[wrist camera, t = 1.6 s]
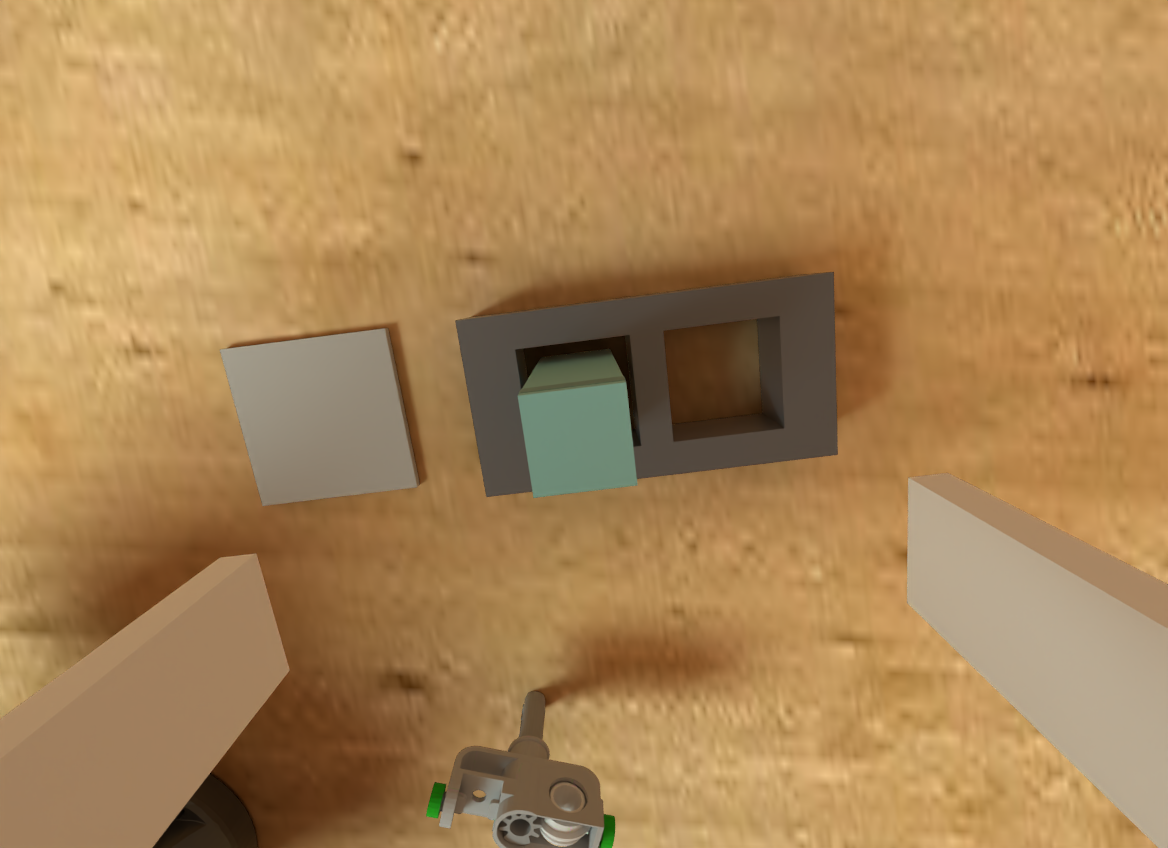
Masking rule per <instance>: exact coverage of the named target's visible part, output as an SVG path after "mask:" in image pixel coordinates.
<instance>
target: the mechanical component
mask: <svg viewBox="0 0 1168 848" xmlns="http://www.w3.org/2000/svg"><path fill="white" fill-rule="evenodd" d="M544 716H545V697H544V695H543V694H542V693H540V692H537V691H532V692H529V693H528V694H527V696H526V698H525V704H523V709H522V716H521V727H520V734H519V738H517V739H516V740H514V741H513V742H512V743H511V745H510V747H509V749H508V752H507V751H501V750H496V749H491V748H486V747H481V746H471V747H467V748H465V749H463V750H461V751H460V752H459V754H458V755H457V757H456V759H455V763H454V767H453V770H452V774H451V778H450V782H449V785H448V789H447V792H445V788H446V784H442V783H436V782H435V783H434V786H433V790H432V793H431V797H430V801H429V805H428V809H427V814H426V816H427V817H433V818H438V816H439V813H440V811H442V814H441V819H440V824H439V826H440V827H445V828H450V827H451V824H452V820H453V815H454V813H457V814H461V813H467V814H472V815H477V816H483V817H487V818H488V819H490V820H494V824H493V830H492V831H493V839H494V841H495V843H496V844H497V845H498V846H499V847H500V848H612V846H613V842H614V836H615V817H614V816H611V815H606V814H604V812H603V800H602V799H601V797H600V783H599V780H598V778H597V777H596V775H595V774H594V773H593V772H592V771H591V770H589V769H588V768H585V767H583V766H579V765H574V764H569V763H564V762H558V761H553V760H549V755H550V754H549V748H548V746H547V745H546V743H545V742H544V741H543V725H544ZM476 790H481V791H483V792H485V793H486V796H485V797H482V798H478V797H476V796H474V795H473V792H474V791H476ZM545 838H546V839H547V840H548V841H549V842H551V843H552V844H555V845H558V846H566V847H558V846H554V845H552V844H550V843H549V842H548V841H547V840H546V839H545Z"/></svg>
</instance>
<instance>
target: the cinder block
mask: <svg viewBox="0 0 1168 848" xmlns="http://www.w3.org/2000/svg"><path fill="white" fill-rule="evenodd" d="M751 319H757V328H758V347H759V365H760V384H761V403H762V413H760V414H752V415H744V416H735V417H727V418H719V419H711V420H703V421H695V422H687V423H678V424H672V420H671V409H670V398H669V387H668V377H667V366H666V355H665V344H664V333H663V331H664V330H672V329H680V328H688V327H696V326H704V325H712V324H719V323H727V322H735V321H743V320H751ZM456 327H457V333H458V338H459V344H460V350H461V356H462V361H463V367H464V373H465V378H466V384H467V390H468V395H469V401H470V407H471V412H472V418H473V424H474V429H475V435H476V441H477V446H478V452H479V458H480V464H481V469H482V475H483V481H484V486H485V492H486V497H491V496H499V495H508V494H516V493H524V492H532V485H531V478H530V472H529V466H528V459H527V453H526V446H525V440H524V433H523V427H522V421H521V414H520V408H519V401H518V394H519V391H520V390H521V389H522V388H523V386H524V385H525V383H526V381H527V380H528V376H527V369H526V362H525V356H524V349H523V348H530V347H538V346H546V345H554V344H562V343H570V342H578V341H586V340H593V339H601V338H609V337H617V336H625V342H626V351H627V361H628V370H629V379H630V388H631V398H632V407H633V416H634V425H635V429H631V431H632V440H633V449H634V458H635V467H636V477H637V479H640V478H649V477H657V476H665V475H673V474H682V473H690V472H698V471H707V470H715V469H723V468H732V467H740V466H748V465H756V464H765V463H773V462H781V461H790V460H798V459H806V458H814V457H823V456H831V455H838V447H837V402H836V357H835V312H834V272H827V273H814V274H803V275H795V276H787V277H779V278H771V279H764V280H756V281H748V282H740V283H733V284H725V285H717V286H709V287H702V288H694V289H686V290H678V291H670V292H663V293H655V294H647V295H639V296H632V297H624V298H616V299H608V300H600V301H593V302H585V303H577V304H569V305H562V306H554V307H546V308H538V309H531V310H523V311H515V312H507V313H499V314H492V315H484V316H476V317H469V318H465V319H460V320H456Z"/></svg>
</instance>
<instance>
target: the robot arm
mask: <svg viewBox="0 0 1168 848" xmlns="http://www.w3.org/2000/svg"><path fill="white" fill-rule="evenodd" d="M907 603H908V604H909V605H910V606H911V607H912V608H913V609H914V610H915V611H916V612H917V613H918V614H919V615H920V616H921V617H922V618H923V619H924V620H925V621H926V622H927V623H928V624H929V625H930V626H931V627H932V628H933V629H934V630H935V631H937V632H938V633H939V634H940V635H941V636H942V637H943V638H944V639H945V640H946V641H947V642H948V643H949V644H950V645H951V646H952V647H953V648H954V649H955V650H956V651H957V652H958V653H959V654H960V655H961V656H962V657H963V658H964V659H965V660H966V661H967V662H968V663H969V664H970V665H971V666H972V667H973V668H974V669H976V670H977V671H978V672H979V673H980V674H981V675H982V676H983V677H984V678H985V679H986V680H987V681H988V682H989V683H990V684H991V685H992V686H993V687H994V688H995V689H996V690H997V691H998V692H999V693H1000V694H1001V695H1002V696H1003V697H1004V698H1005V699H1006V700H1007V701H1008V702H1009V703H1010V704H1011V705H1012V706H1013V707H1015V708H1016V709H1017V710H1018V711H1019V712H1020V713H1021V714H1022V715H1023V716H1024V717H1025V718H1026V719H1027V720H1028V721H1029V722H1030V723H1031V724H1032V725H1033V726H1034V727H1035V728H1036V729H1037V730H1038V731H1039V732H1040V733H1041V734H1042V735H1043V736H1044V737H1045V738H1046V739H1047V740H1048V741H1049V742H1050V743H1051V744H1052V745H1053V746H1055V747H1056V748H1057V749H1058V750H1059V751H1060V752H1061V753H1062V754H1063V755H1064V756H1065V757H1066V758H1067V759H1068V760H1069V761H1070V762H1071V763H1072V764H1073V765H1074V766H1075V767H1076V768H1077V769H1078V770H1079V771H1080V772H1081V773H1082V774H1083V775H1084V776H1085V777H1086V778H1087V779H1088V780H1089V781H1090V782H1091V783H1092V784H1094V785H1095V786H1096V787H1097V788H1098V789H1099V790H1100V791H1101V792H1102V793H1103V794H1104V795H1105V796H1106V797H1107V798H1108V799H1109V800H1110V801H1111V802H1112V803H1113V804H1114V805H1115V806H1116V807H1117V808H1118V809H1119V810H1120V811H1121V812H1122V813H1123V814H1124V815H1125V816H1126V817H1127V818H1128V819H1129V820H1130V821H1131V822H1133V823H1134V824H1135V825H1136V826H1137V827H1138V828H1139V829H1140V830H1141V831H1142V832H1143V833H1144V834H1145V835H1146V836H1147V837H1148V838H1149V839H1150V840H1151V841H1152V842H1153V843H1154V844H1155V845H1156V846H1157V847H1158V848H1168V584H1166V583H1164V582H1162V581H1160V580H1158V579H1156V578H1154V577H1152V576H1150V575H1148V574H1146V573H1144V572H1142V571H1141V570H1139V569H1137V568H1135V567H1133V566H1131V565H1129V564H1127V563H1125V562H1123V561H1121V560H1119V559H1117V558H1115V557H1113V556H1111V555H1109V554H1107V553H1105V552H1103V551H1101V550H1099V549H1097V548H1095V547H1093V546H1091V545H1089V544H1087V543H1085V542H1083V541H1081V540H1079V539H1077V538H1075V537H1073V536H1071V535H1069V534H1067V533H1066V532H1064V531H1062V530H1060V529H1058V528H1056V527H1054V526H1052V525H1050V524H1048V523H1046V522H1044V521H1042V520H1040V519H1038V518H1036V517H1034V516H1032V515H1030V514H1028V513H1026V512H1024V511H1022V510H1020V509H1018V508H1016V507H1014V506H1012V505H1010V504H1008V503H1006V502H1004V501H1002V500H1000V499H998V498H996V497H994V496H992V495H991V494H989V493H987V492H985V491H983V490H981V489H979V488H977V487H975V486H973V485H971V484H969V483H967V482H965V481H963V480H961V479H959V478H957V477H955V476H953V475H951V474H949V473H942V474H934V475H925V476H917V477H908V554H907ZM289 671H290V669H289V666H288V662H287V659H286V655H285V652H284V648H283V645H282V641H281V638H280V634H279V631H278V627H277V624H276V620H275V617H274V613H273V610H272V606H271V603H270V599H269V596H268V592H267V589H266V585H265V582H264V578H263V575H262V571H261V568H260V564H259V561H258V557H257V554H256V553H255V554H247V555H238V556H229V557H221V558H219V559H217V560H216V561H215V562H213V563H212V564H210V565H209V566H208V567H206V568H205V569H204V570H202V571H201V572H200V573H198V574H197V575H195V576H194V577H193V578H191V579H190V580H189V581H187V582H186V583H185V584H183V585H182V586H181V587H179V588H178V589H176V590H175V591H174V592H172V593H171V594H170V595H168V596H167V597H166V598H164V599H163V600H161V601H160V602H159V603H157V604H156V605H155V606H153V607H152V608H151V609H149V610H148V611H146V612H145V613H144V614H142V615H141V616H140V617H138V618H137V619H136V620H134V621H133V622H131V623H130V624H129V625H127V626H126V627H125V628H123V629H122V630H121V631H119V632H118V633H117V634H115V635H114V636H112V637H111V638H110V639H108V640H107V641H106V642H104V643H103V644H102V645H100V646H99V647H97V648H96V649H95V650H93V651H92V652H91V653H89V654H88V655H87V656H85V657H84V658H82V659H81V660H80V661H78V662H77V663H76V664H74V665H73V666H72V667H70V668H69V669H67V670H66V671H65V672H63V673H62V674H61V675H59V676H58V677H57V678H55V679H54V680H52V681H51V682H50V683H48V684H47V685H46V686H44V687H43V688H42V689H40V690H39V691H38V692H36V693H35V694H33V695H32V696H31V697H29V698H28V699H27V700H25V701H24V702H23V703H21V704H20V705H18V706H17V707H16V708H14V709H13V710H12V711H10V712H9V713H8V714H6V715H5V716H3V717H2V718H1V719H0V848H257V839H256V833H255V830H254V826H253V824H252V821H251V819H250V817H249V815H248V813H247V811H246V809H245V808H244V806H243V805H242V803H241V802H240V801H239V799H238V798H237V797H236V796H235V795H234V794H233V793H232V792H231V791H230V790H229V789H228V788H227V787H226V786H225V785H224V784H223V783H222V782H220V781H219V780H218V779H216V778H215V777H213V776H212V775H210V773H211V771H212V770H213V769H214V767H215V766H216V765H217V764H218V762H219V761H220V760H221V758H222V757H223V756H224V755H225V753H226V752H227V751H228V749H229V748H230V747H231V745H232V744H233V743H234V742H235V740H236V739H237V738H238V736H239V735H240V734H241V733H242V731H243V730H244V729H245V727H246V726H247V725H248V724H249V722H250V721H251V720H252V718H253V717H254V716H255V715H256V713H257V712H258V711H259V709H260V708H261V707H262V706H263V704H264V703H265V702H266V700H267V699H268V698H269V696H270V695H271V694H272V693H273V691H274V690H275V689H276V687H277V686H278V685H279V684H280V682H281V681H282V680H283V678H284V677H285V676H286V675H287V673H288V672H289Z"/></svg>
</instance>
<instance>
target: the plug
mask: <svg viewBox="0 0 1168 848" xmlns="http://www.w3.org/2000/svg"><path fill="white" fill-rule="evenodd" d="M518 401H519V408H520V414H521V421H522V427H523V433H524V440H525V446H526V453H527V459H528V466H529V472H530V478H531V485H532V491H533V498H537V497H545V496H553V495H562V494H570V493H578V492H587V491H595V490H603V489H612V488H620V487H628V486H636V485H637V477H636V467H635V458H634V449H633V440H632V431H631V422H630V413H629V403H628V394H627V385H626V379H625V377H624V376H623V375H622V373H621V371H620V369H619V367H618V365H617V362H616V360H615V358H614V356H613V354H612V352H611V350H610V348H609V349H601V350H593V351H586V352H578V353H570V354H562V355H554V356H546V357H541V358H540V360H539V362H538V363H537V365H536V367H535V368H534V370H533V371H532V373H531V375H530V376H529V378H528V380H527V381H526V383H525V385H524V386H523V388H522V389H521V390H520V391H519V394H518Z"/></svg>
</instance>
